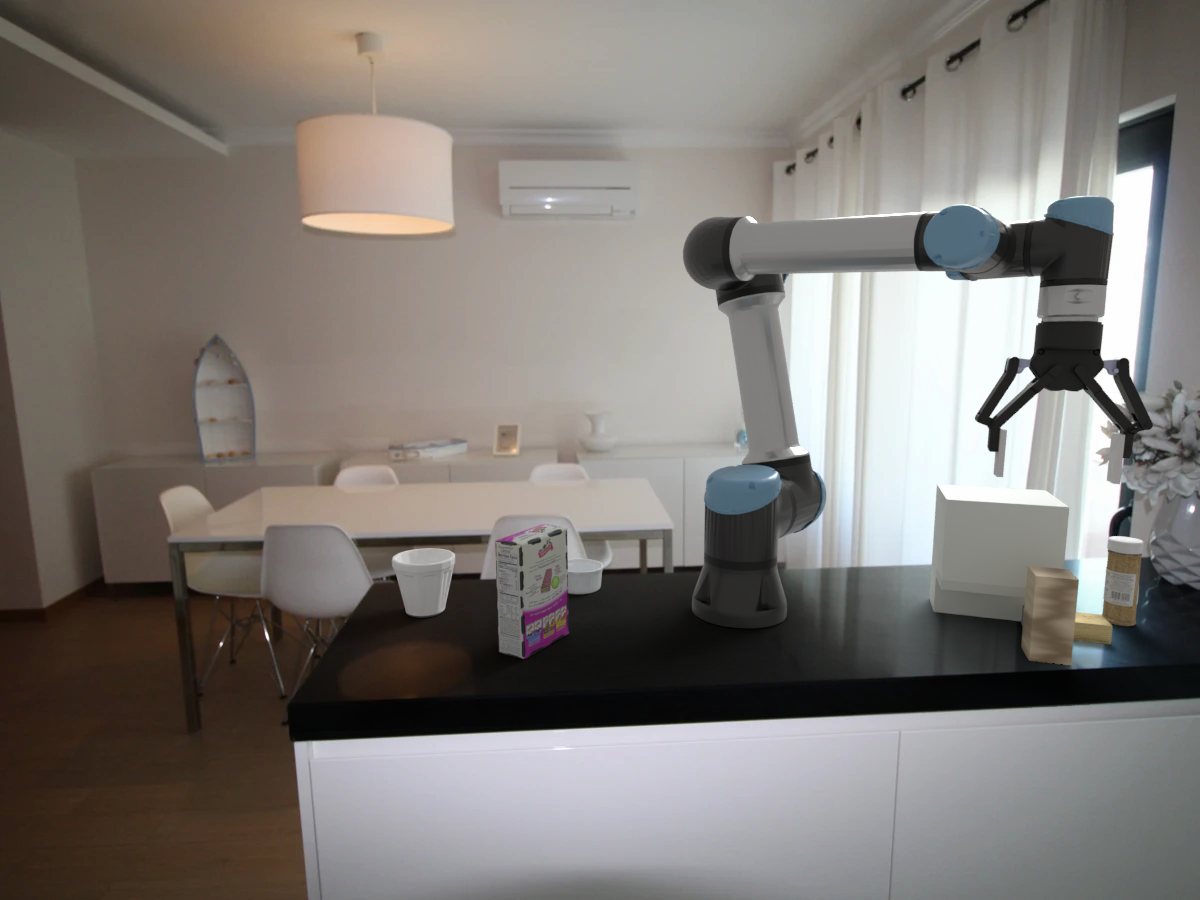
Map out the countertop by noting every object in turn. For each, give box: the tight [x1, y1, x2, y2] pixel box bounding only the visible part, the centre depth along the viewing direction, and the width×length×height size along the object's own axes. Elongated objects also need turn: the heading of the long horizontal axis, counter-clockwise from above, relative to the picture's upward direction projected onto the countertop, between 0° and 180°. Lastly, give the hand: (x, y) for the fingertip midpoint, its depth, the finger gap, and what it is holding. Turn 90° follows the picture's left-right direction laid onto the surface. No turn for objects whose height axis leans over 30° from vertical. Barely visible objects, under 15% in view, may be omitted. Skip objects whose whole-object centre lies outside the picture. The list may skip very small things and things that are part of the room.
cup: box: [391, 547, 456, 619], centre depth 117 cm, size 10×10×9 cm
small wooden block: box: [1073, 611, 1113, 645], centre depth 108 cm, size 5×5×3 cm
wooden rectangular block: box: [1020, 566, 1080, 667], centre depth 105 cm, size 5×15×12 cm, turn 161°
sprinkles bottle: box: [1101, 535, 1145, 627], centre depth 113 cm, size 5×5×14 cm
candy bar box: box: [494, 523, 570, 660], centre depth 104 cm, size 11×5×16 cm, turn 148°
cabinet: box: [929, 483, 1070, 622], centre depth 114 cm, size 16×14×20 cm
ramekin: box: [568, 557, 604, 595], centre depth 130 cm, size 9×9×4 cm
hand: (1054, 479), depth 99 cm, fingers open, 13 cm apart
